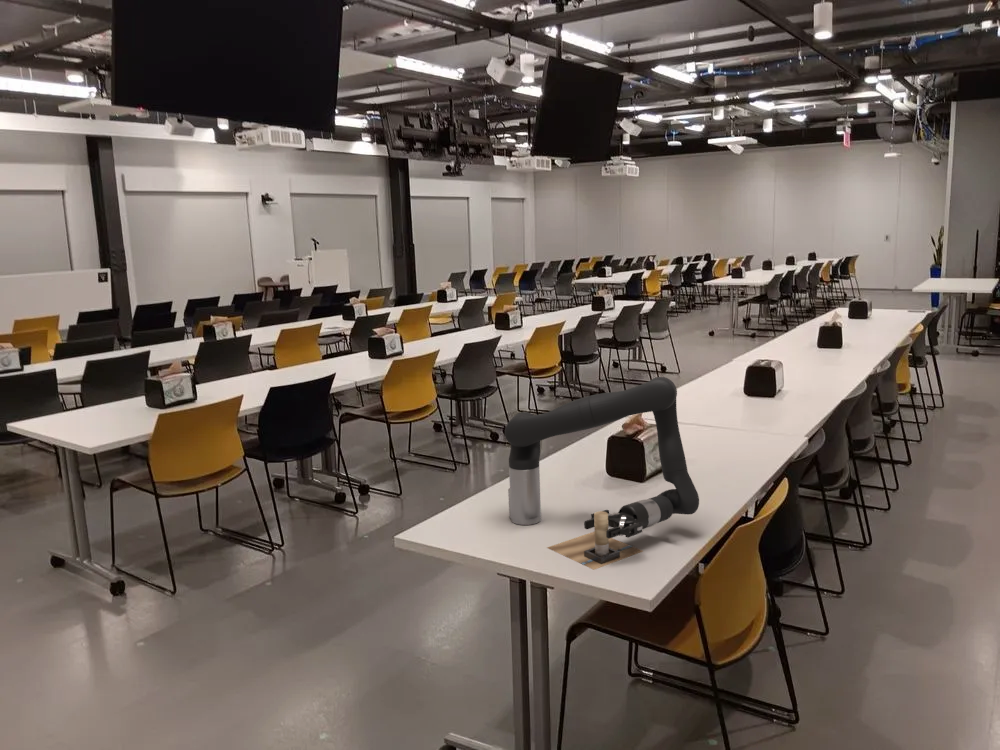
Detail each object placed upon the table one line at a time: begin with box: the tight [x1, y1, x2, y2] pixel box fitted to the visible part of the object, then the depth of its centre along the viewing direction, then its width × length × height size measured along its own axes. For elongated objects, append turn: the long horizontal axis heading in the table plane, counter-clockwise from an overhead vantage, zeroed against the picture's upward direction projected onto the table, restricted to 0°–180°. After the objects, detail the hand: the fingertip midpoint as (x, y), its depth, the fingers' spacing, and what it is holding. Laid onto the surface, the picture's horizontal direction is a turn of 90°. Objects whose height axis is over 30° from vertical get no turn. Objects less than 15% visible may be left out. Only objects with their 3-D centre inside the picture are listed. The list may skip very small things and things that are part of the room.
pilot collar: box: [584, 547, 620, 564], centre depth 208 cm, size 7×7×2 cm
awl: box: [593, 510, 609, 557], centre depth 207 cm, size 4×4×12 cm
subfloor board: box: [546, 530, 644, 571], centre depth 213 cm, size 19×18×2 cm
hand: (596, 530), depth 205 cm, fingers open, 8 cm apart
